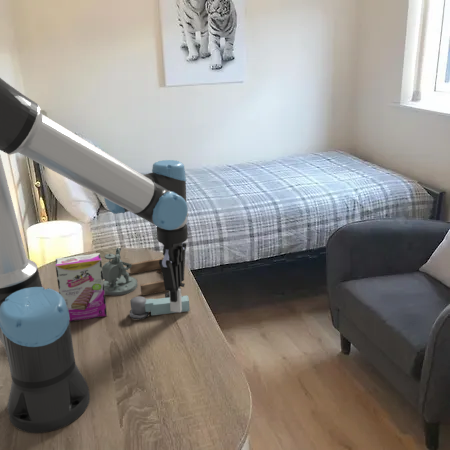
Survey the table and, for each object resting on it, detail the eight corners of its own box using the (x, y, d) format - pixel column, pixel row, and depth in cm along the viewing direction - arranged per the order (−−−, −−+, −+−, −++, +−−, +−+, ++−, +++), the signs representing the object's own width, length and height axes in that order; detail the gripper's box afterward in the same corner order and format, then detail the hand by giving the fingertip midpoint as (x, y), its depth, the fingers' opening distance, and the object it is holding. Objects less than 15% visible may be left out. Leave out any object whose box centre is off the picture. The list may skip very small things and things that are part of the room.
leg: (189, 311, 131) (189, 298, 130) (131, 318, 128) (130, 304, 127) (188, 304, 135) (187, 291, 133) (131, 310, 132) (130, 297, 131)
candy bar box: (63, 324, 127) (54, 265, 121) (63, 314, 131) (54, 257, 126) (108, 316, 130) (101, 259, 124) (106, 307, 135) (99, 251, 129)
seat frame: (142, 295, 140) (141, 286, 139) (130, 272, 154) (129, 263, 153) (179, 288, 144) (179, 278, 143) (164, 266, 158) (164, 257, 157)
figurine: (144, 283, 147) (141, 246, 143) (119, 299, 139) (115, 259, 135) (118, 275, 153) (114, 239, 148) (92, 290, 144) (87, 252, 140)
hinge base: (132, 321, 128) (131, 312, 127) (126, 308, 134) (125, 300, 133) (179, 311, 132) (178, 302, 131) (171, 299, 138) (171, 291, 137)
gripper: (176, 235, 115) (181, 325, 122) (194, 217, 126) (197, 301, 134) (146, 232, 117) (152, 321, 124) (167, 215, 128) (171, 297, 136)
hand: (176, 310), depth 129 cm, fingers closed
